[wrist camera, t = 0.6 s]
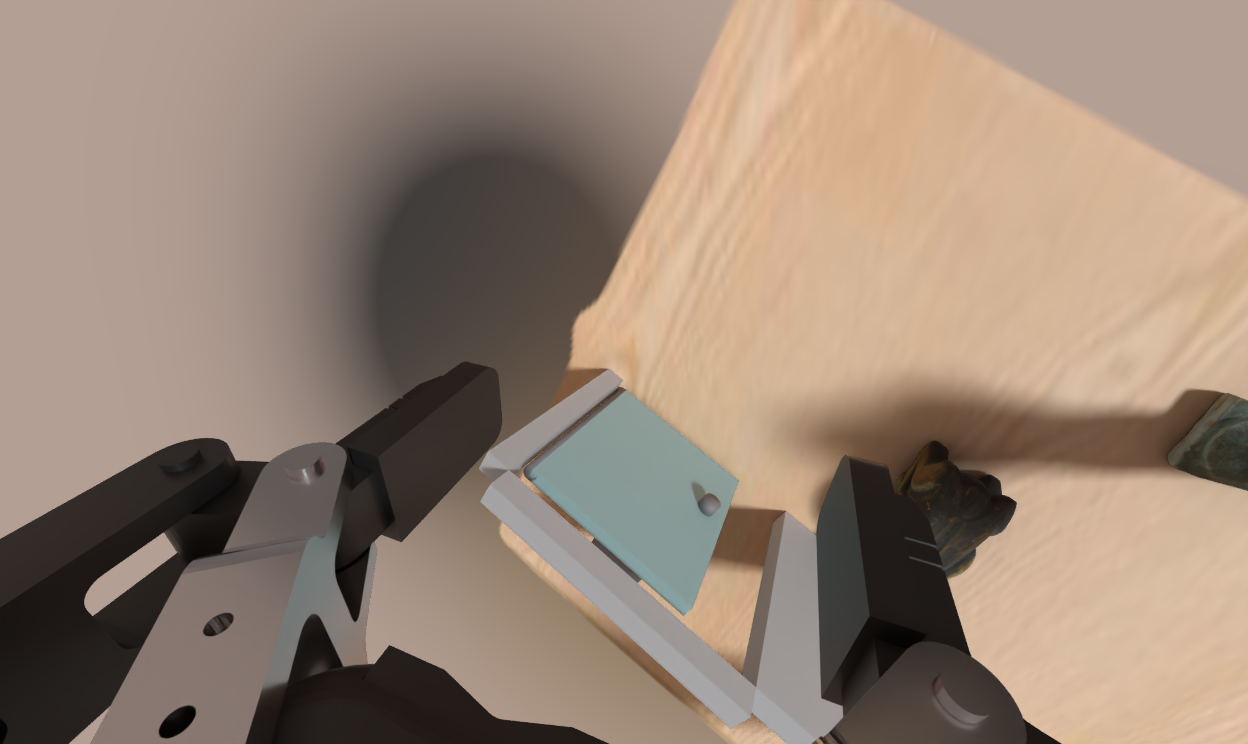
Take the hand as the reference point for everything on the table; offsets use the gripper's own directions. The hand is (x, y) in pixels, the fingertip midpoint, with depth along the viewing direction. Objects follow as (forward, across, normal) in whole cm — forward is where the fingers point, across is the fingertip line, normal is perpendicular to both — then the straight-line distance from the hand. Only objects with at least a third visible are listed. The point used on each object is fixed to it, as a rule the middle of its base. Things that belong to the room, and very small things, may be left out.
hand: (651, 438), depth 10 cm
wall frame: (+30, +2, -26) cm, 40 cm away
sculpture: (+29, +19, -23) cm, 42 cm away
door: (+30, -3, -23) cm, 38 cm away
